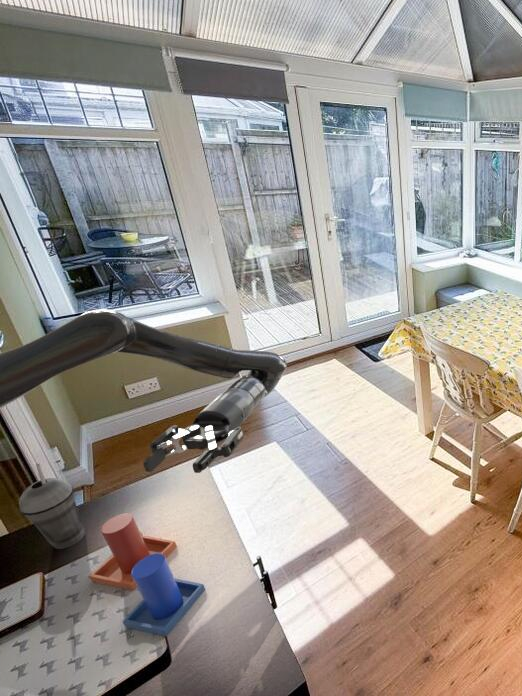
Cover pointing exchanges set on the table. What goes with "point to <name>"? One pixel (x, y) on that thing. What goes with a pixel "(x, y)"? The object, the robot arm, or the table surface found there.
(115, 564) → the terracotta tray
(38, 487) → the beverage cup
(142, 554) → the red canister
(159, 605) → the blue canister
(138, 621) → the blue tray
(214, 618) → the table surface
